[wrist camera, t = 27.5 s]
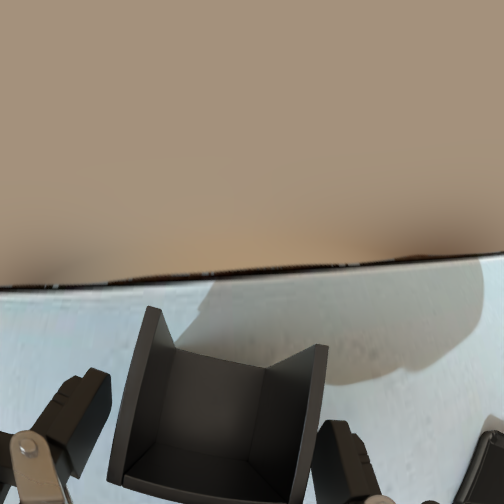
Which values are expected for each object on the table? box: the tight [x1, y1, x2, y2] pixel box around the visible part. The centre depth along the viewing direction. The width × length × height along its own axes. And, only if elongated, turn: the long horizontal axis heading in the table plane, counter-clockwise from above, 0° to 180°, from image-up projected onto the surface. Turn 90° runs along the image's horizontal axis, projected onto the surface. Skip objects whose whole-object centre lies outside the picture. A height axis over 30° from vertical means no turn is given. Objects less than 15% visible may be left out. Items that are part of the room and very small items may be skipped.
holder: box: [106, 306, 329, 504], centre depth 11 cm, size 6×6×8 cm
